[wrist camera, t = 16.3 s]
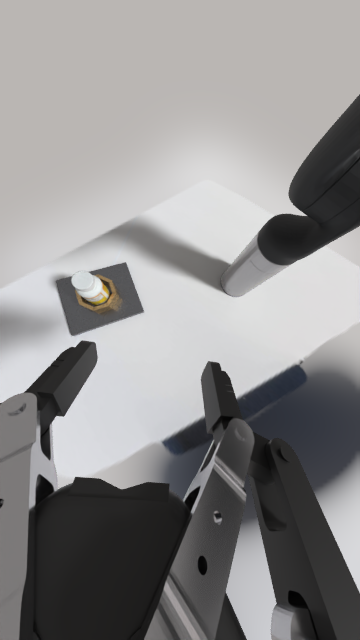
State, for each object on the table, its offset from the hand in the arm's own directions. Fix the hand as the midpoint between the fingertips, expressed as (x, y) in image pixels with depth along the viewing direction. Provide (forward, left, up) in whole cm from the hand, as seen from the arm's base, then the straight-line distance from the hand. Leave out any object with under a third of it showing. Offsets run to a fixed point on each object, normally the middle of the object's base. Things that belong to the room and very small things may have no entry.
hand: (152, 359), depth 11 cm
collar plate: (+9, -19, -29) cm, 35 cm away
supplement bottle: (+9, -19, -28) cm, 35 cm away
